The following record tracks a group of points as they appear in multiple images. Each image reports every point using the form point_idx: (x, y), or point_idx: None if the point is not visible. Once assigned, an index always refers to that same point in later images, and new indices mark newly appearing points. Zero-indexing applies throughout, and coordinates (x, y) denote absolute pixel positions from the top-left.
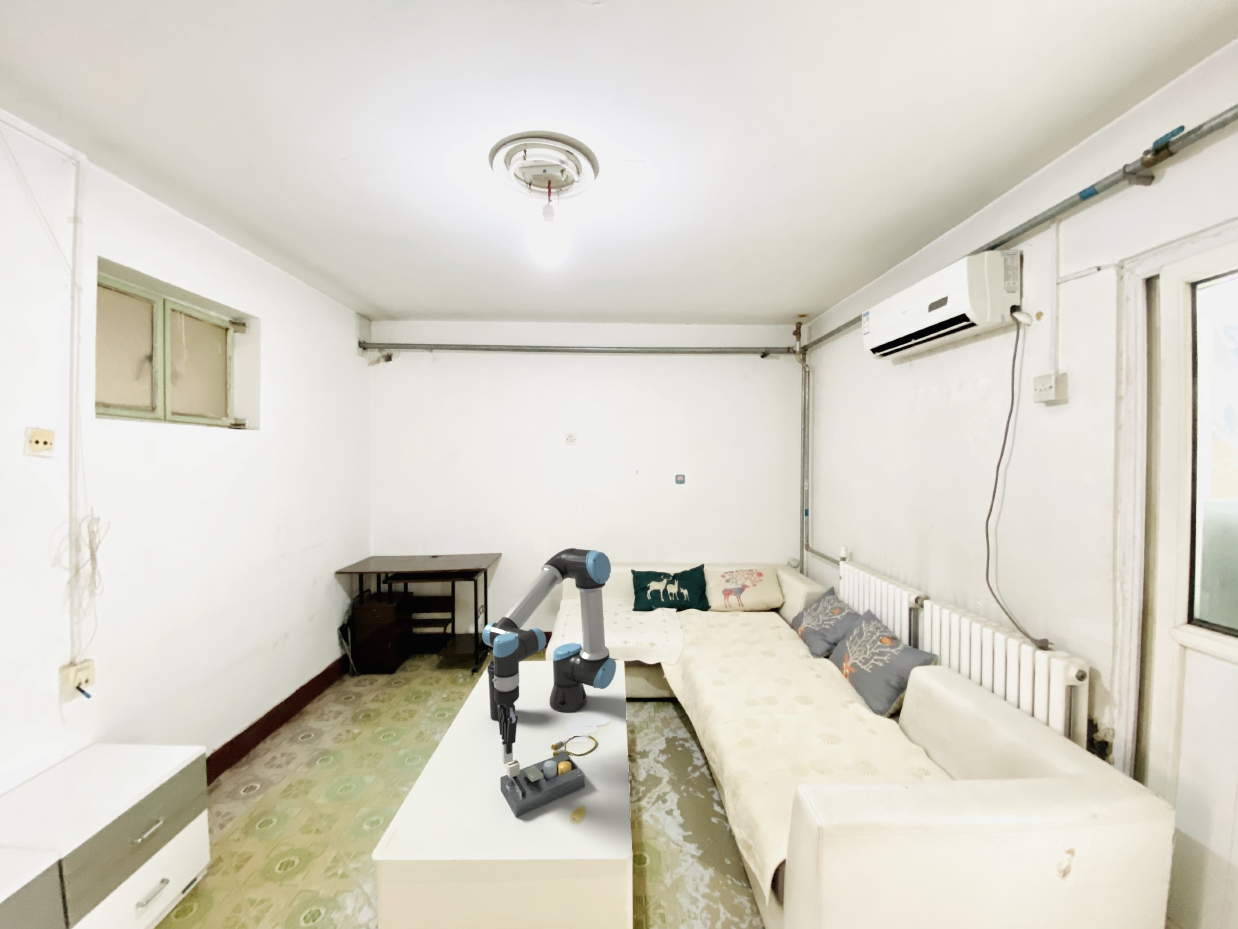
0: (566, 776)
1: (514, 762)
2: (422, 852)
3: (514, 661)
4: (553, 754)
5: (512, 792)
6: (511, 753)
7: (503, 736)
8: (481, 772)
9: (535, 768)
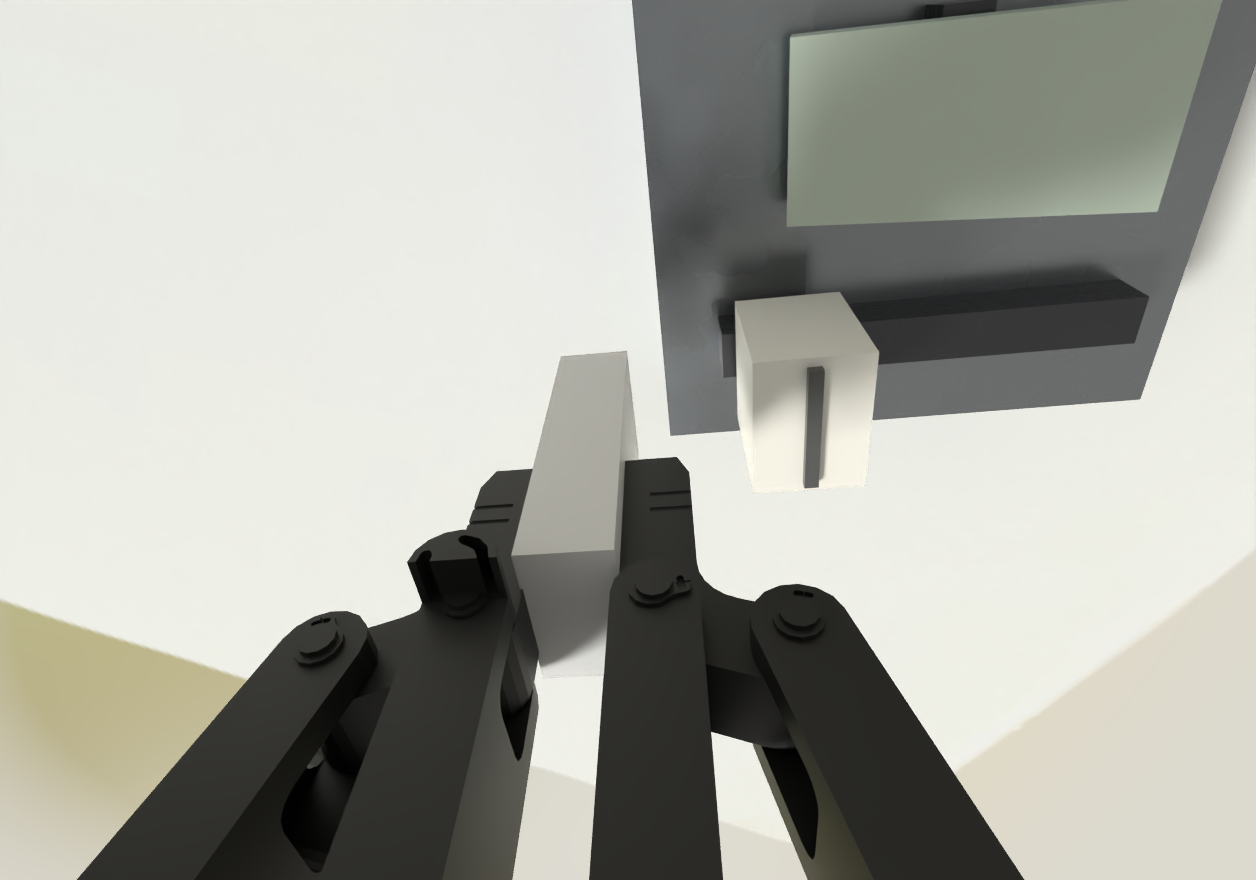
0: None
1: (820, 416)
2: None
3: None
4: None
5: (971, 388)
6: (623, 426)
7: (530, 742)
8: (369, 456)
9: (895, 51)
